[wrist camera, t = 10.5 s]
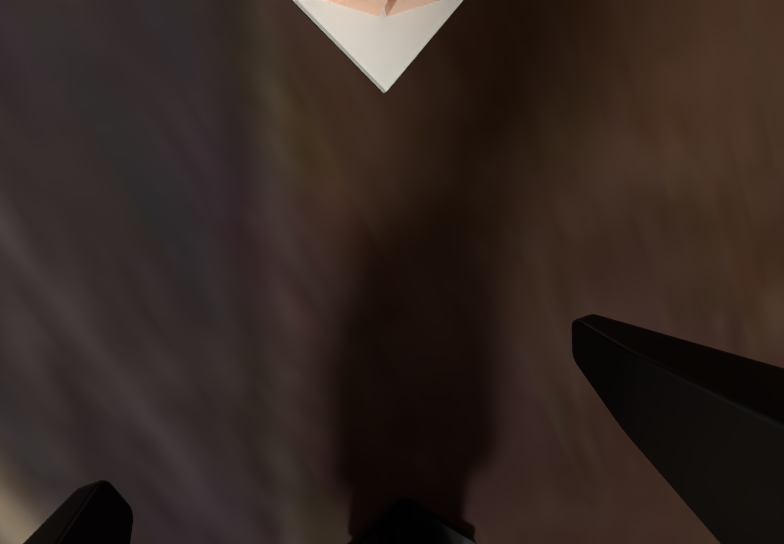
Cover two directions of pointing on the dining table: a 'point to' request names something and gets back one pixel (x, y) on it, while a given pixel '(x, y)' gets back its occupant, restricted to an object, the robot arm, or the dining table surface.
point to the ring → (380, 31)
